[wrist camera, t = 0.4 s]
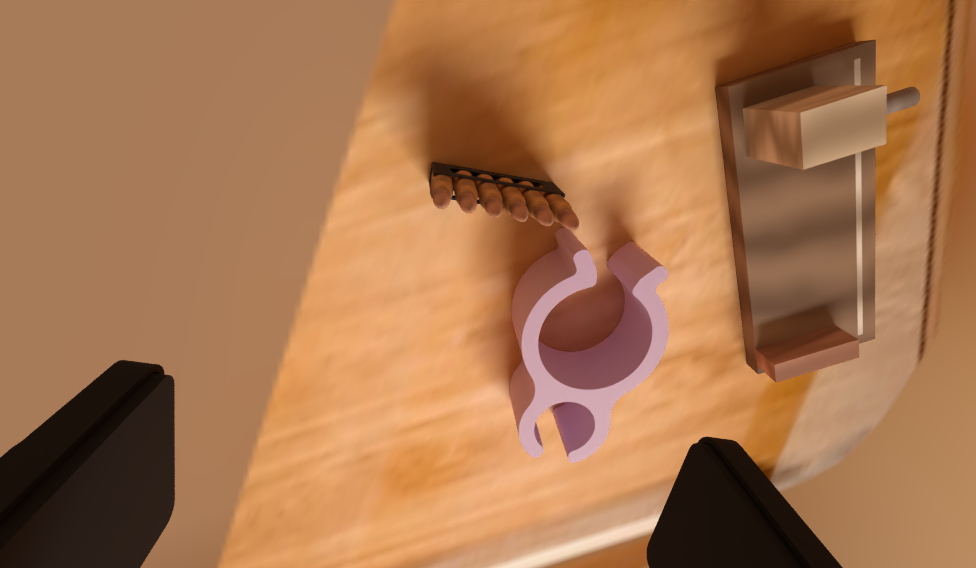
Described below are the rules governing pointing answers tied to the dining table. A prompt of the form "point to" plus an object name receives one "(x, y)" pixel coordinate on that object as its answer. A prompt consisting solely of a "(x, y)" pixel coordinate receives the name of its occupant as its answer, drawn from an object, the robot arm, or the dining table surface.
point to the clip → (594, 371)
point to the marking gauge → (822, 123)
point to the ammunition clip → (500, 195)
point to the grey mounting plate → (801, 228)
